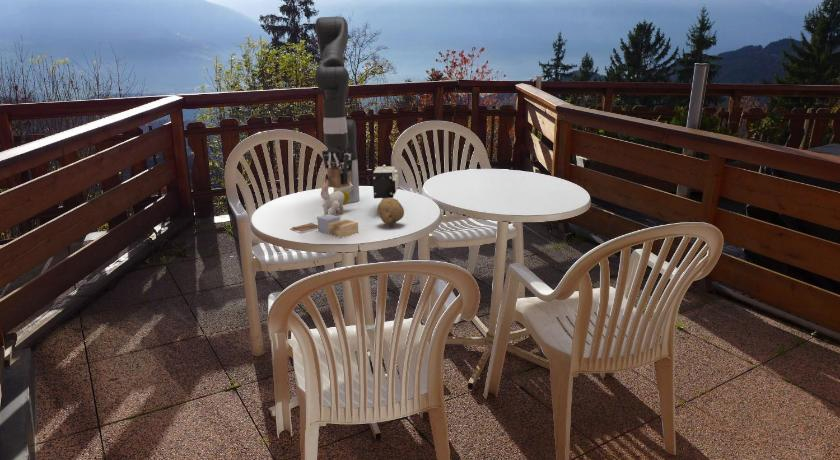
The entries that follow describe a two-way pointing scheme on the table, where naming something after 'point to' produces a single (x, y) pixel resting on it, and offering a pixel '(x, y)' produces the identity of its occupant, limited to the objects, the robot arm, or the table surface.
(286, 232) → the table surface
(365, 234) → the table surface
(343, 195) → the toy
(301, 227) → the tile
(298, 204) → the table surface
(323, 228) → the bluegrey block
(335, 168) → the walnut cube
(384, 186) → the black and cream box
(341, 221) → the oak base
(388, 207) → the natural sponge
